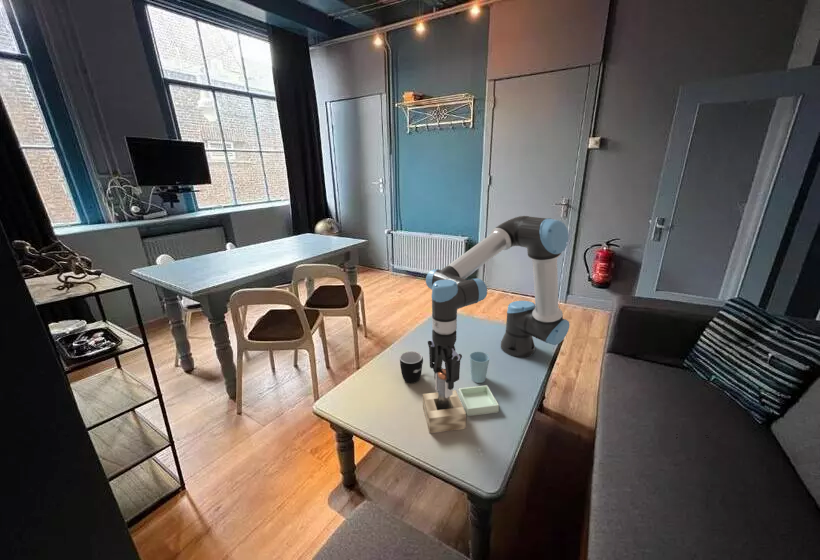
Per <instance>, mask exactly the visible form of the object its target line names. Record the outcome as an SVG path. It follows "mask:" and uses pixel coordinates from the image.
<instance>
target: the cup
mask: <svg viewBox="0 0 820 560" xmlns="http://www.w3.org/2000/svg"><path fill="white" fill-rule="evenodd" d="M489 363H490V355H488V354H487V352H486V353H485V352H484V351H473V352H472V353H470V354H469V364H470V376H471V380H472V381H473V382H474V383H478V384H483V383H485V381H486V377H487V373H488V366H489Z"/></svg>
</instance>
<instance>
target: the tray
mask: <svg viewBox="0 0 820 560" xmlns="http://www.w3.org/2000/svg"><path fill="white" fill-rule="evenodd" d="M457 394H458V396H459V399H460V401H461V403H462V406H463V408H464V410H465V413H466V417H470V416H479V415H487V414H495V413H499V410H500V408H499V407H500V405H499V403H498V401H497V399H496V397H495V396H494V394H493V393H492V391H491V389H490V387H489V386H488V384H484V385H476V386H475V385H474V386H468V387H467V386H466V387H460V388H458V391H457Z"/></svg>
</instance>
